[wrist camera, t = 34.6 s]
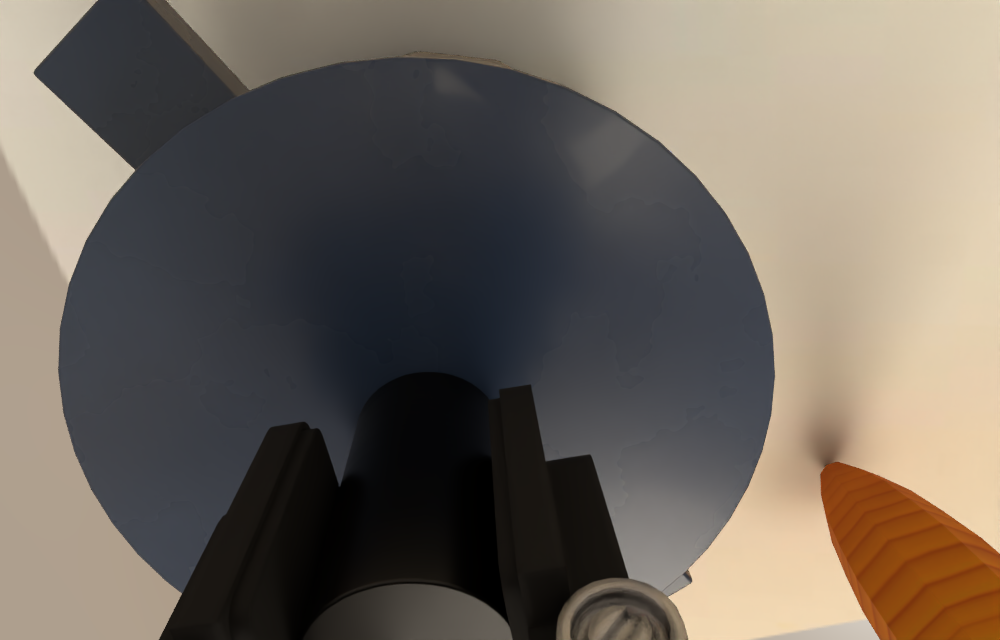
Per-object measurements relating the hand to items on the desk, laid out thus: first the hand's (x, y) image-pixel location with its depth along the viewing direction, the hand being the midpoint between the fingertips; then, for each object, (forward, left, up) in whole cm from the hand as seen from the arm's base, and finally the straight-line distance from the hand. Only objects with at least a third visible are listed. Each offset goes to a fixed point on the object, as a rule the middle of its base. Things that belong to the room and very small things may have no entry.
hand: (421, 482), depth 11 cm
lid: (0, 0, -2) cm, 2 cm away
